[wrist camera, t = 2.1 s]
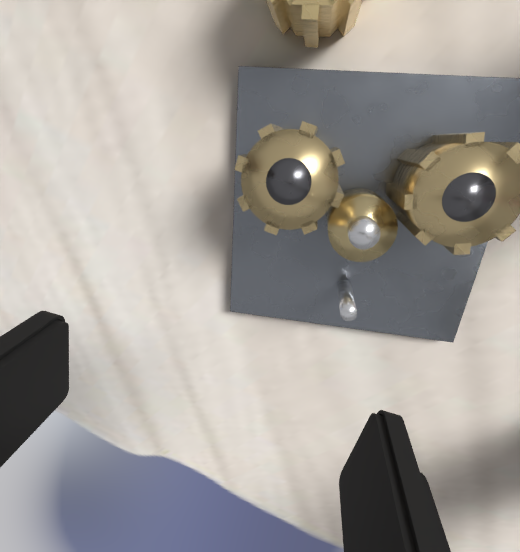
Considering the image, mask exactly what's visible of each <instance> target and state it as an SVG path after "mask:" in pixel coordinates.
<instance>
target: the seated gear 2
mask: <svg viewBox="0 0 520 552" xmlns="http://www.w3.org/2000/svg"><path fill="white" fill-rule="evenodd" d="M484 136H485V132H473V133H453V134H440V135H432V143H429V144H426V145H424V146H422V147H420V148H418V149H406V150H405V151H404V152H403V153H402V154H401V155H400V156H399V157H398V158H397V159H398V160H399V161H400V162H401V163H402V164H401V165H400V167H399V168H398V170H397V172H396V175H395V177H394V181H393V182H392V183H386V195H387V196H388V197H389V198H390V199H391V200H393V201H394V202H395V204H396V206H397V208H398V210H399V212H398V213H397V214H396V218H397V219H398V220H399V221H400V222H401V223H402V224H403V225H404V226H405V227H406V228H407V229H408V230H409V231H410V232H411V233H412V234H413V235H414V236H415V237H416V238H417V239H418V240H419V241H421V242H422V243H423V244H424V245H425V246H426V245H427V244H428V243H429V242H430V241H431V240H433V241H434V242H436V243H438V244H441V245H443V246H444V247H445V248H446V249H447V250H448V251H450V252H451V253H452V254H453V255H464V254H470V248H471V246H476V245H479V244H482V243H485V242H487V241H489V240H491V239H493V238H496V239H498V240H500V241H504V240H505V239H506V238H507V237H509V236H510V235H511V234H512V233H514V232H515V231H516V230H515V229H514V228H513V227H512V226H511V224H512V223H513V222H514V221H515V219H516V218H517V216H518V215H519V213H520V144H519V143H518V142H484Z"/></svg>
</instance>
